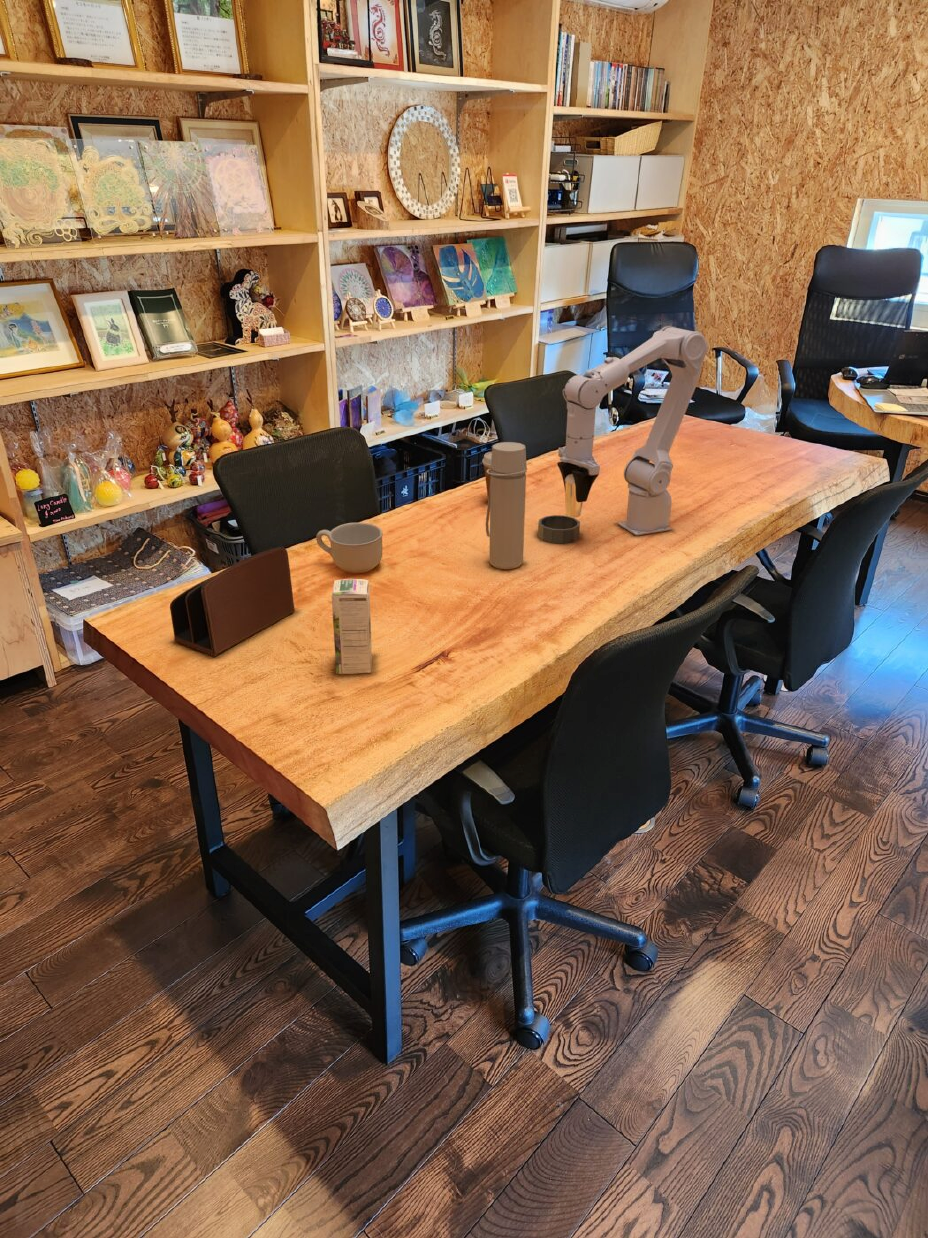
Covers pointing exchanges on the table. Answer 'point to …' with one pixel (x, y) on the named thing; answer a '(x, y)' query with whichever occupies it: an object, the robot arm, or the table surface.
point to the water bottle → (507, 504)
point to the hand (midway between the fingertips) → (575, 497)
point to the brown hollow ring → (558, 529)
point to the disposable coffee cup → (487, 464)
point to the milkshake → (571, 498)
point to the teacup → (354, 546)
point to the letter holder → (234, 603)
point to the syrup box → (352, 626)
